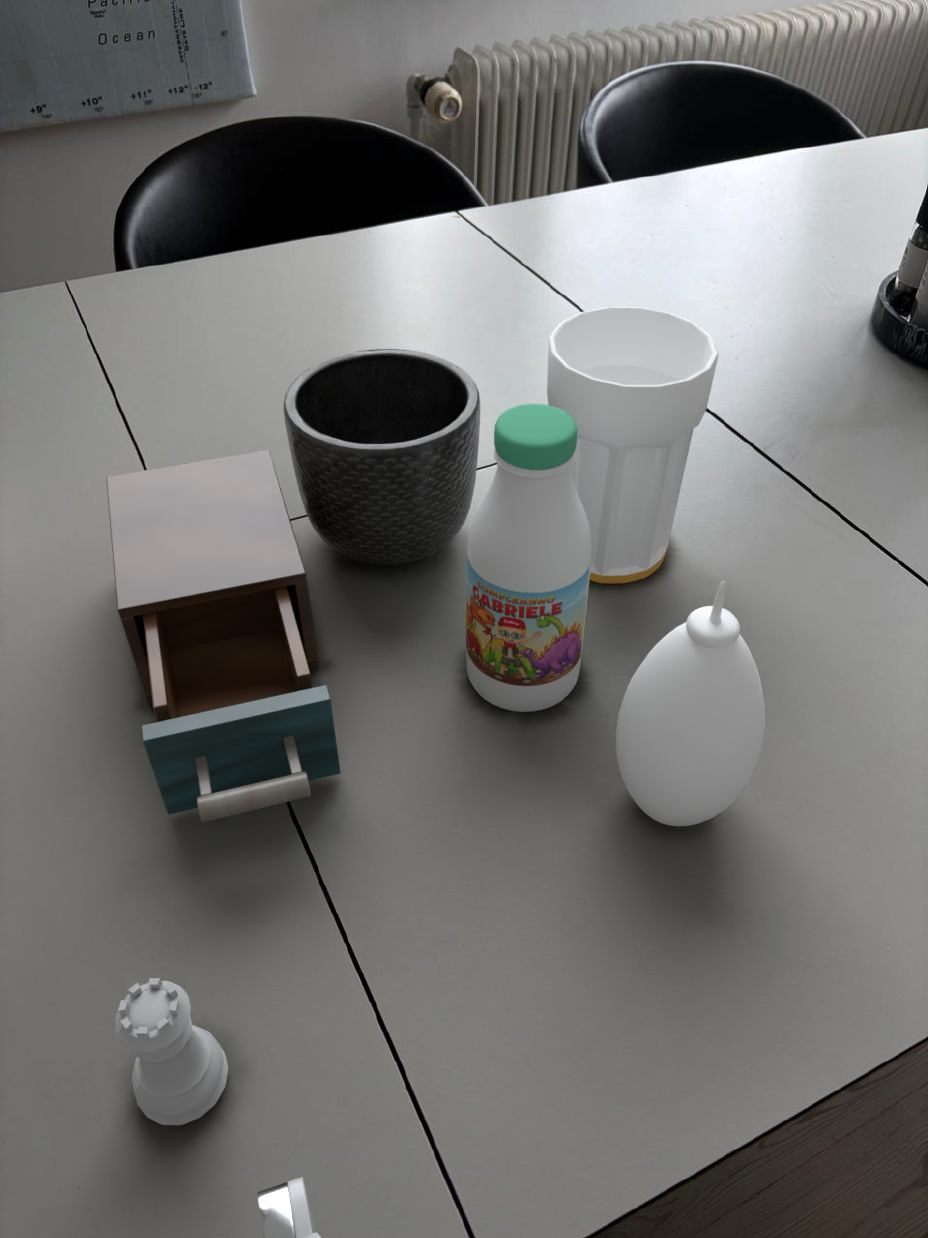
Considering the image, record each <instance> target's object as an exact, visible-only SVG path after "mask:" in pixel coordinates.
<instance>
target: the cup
mask: <svg viewBox="0 0 928 1238" xmlns="http://www.w3.org/2000/svg"><path fill="white" fill-rule="evenodd" d="M547 339H548V341H547V376H546V377H547V379H546V380H547V381H546V396H547V397H546V398H547V405H549V406H553V407H556V408H559V409H561V410H563V411H565V412H566V413H568V414H569V415H570V416H571V417H572V418H573V419H574V421H575V423H576V426H577V443H576V449H575V461H574V463H573V465H572V466H571V467H570V472H571V477H572V481H573V485H574V488H575V490H576V493H577V495H578V497H579V499H580V501H581V504H582V506H583V508H584V510H585V513H586V516H587V519H588V523H589V528H590V534H591V566H590V578H589V581H592V582H595V583H598V584H626V583H631V582H635V581H639V580H643V579H646V578H647V577H649V576H650V575H652V574H653V573H654V572H655V571H657V570H658V569H660V567H661V565H662V564H663V562H664V561H665V558H666V556H667V552H668V547H669V543H670V538H671V535H672V530H673V524H674V519H675V516H676V511H677V508H678V507H677V506H678V502H679V498H680V493H681V487H682V483H683V479H684V475H685V470H686V466H687V461H688V457H689V452H690V447H691V444H692V443H691V442H692V438H693V433H694V430H695V428H696V427H699V425H700V423H701V421H702V419H703V417H704V415H705V413H706V411H707V409H708V404H709V399H710V395H711V391H712V387H713V381H714V377H715V373H716V369H717V368H716V367H717V364H718V360H719V352H718V348H717V345H716V343H715V341H714V338H713V336H711V335H710V334H709V333H708V332H707V331H706V330H704V329H703V328H702V327H701V326H700V325H698V324H697V323H696V322H693V321H691V320H689V319H687V318H684V317H681V316H679V315H676V314H674V313H672V312H669V311H662V310H658V309H652V308H648V307H642V306H605V307H601V308H595V309H590V310H584V311H580V312H579V313H576V314H574V315H572V316H570V317H568V318H566V319H565V320H563V321H561V322H560V323H558V325H557V326H556V327H555V329H554V330H553V331H552V333H551V334H550V335H549V336H548V338H547Z"/></svg>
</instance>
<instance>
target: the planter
mask: <svg viewBox="0 0 928 1238" xmlns="http://www.w3.org/2000/svg"><path fill="white" fill-rule="evenodd" d="M283 416H284V424H285V429H286V436H287V441H288V446H289V452H290V456H291V457H290V458H291V461H292V466H293V471H294V475H295V480H296V485H297V488H298V493H299V496H300V499H301V502H302V505H303V508H304V511H305V513H306V516H307V518H308V520H309V522H310V524H311V526H312V527H313V530H314V531H315V533H317V535H318V536H319V537H320V539H322V541H323V542H324V543H325V544H326V545H328V546H329V547H330V548H331V549H333V550H334V551H336V552H338V553H339V554H341V555H342V556H344V557H347V558H348V559H351V560H352V561H354V562H355V563H357V564H359V565H361V566H364V567H368V568H370V569H376V570H386V571H390V570H401V569H406V568H410V567H413V566H416V565H418V564H420V563H423V562H424V561H426V560H427V559H429V558H430V557H432V555H434V554H435V553H437V552H439V551H440V550H441V549H443V548H445V546H447V545H448V544H449V543H450V542H451V541H452V540H453V539H454V538H456V536H457V535H458V533H459V532H460V531H461V529H462V528H463V526H464V524H465V523H466V520H467V518H468V515H469V512H470V509H471V506H472V501H473V496H474V492H475V486H476V479H477V469H478V458H479V445H480V431H481V430H480V427H481V398H480V392H479V389H478V387H477V384H476V382H475V381H474V379H473V378H472V377H471V376H470V374H468V373H467V372H466V371H465V370H464V369H462V367H459V365H457V364H455V363H453V362H451V361H449V360H448V359H445V358H442V357H440V356H436V355H434V354H430V353H426V352H423V351H422V352H421V351H417V350H409V349H398V348H375V349H364V350H359V351H352V352H347V353H343V354H339V355H336V356H333V357H330V358H328V359H325V360H322V361H321V362H319V363H316V364H314V365H313V366H311V367H309V368H308V369H307V370H306V369H305V371H303V372H302V373H301V374H300V375H299V376H298V377H296V378H295V379H294V380H293V382H292V383H291V384H290V385H289V386H288V389H287V390H286V393H285V394H284V400H283Z"/></svg>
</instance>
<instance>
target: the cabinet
mask: <svg viewBox="0 0 928 1238" xmlns="http://www.w3.org/2000/svg"><path fill="white" fill-rule="evenodd" d="M105 480H106V481H105V482H106V490H107V491H106V493H107V504H108V515H109V525H110V526H109V528H110V537H111V548H112V549H111V551H112V561H113V562H112V563H113V574H114V575H113V576H114V586H115V597H116V609H117V610H116V611H117V613H118V617H119V619H120V622H121V626H122V628H123V632H124V634H125V638H126V641H127V644H128V647H129V651H130V653H131V657H132V659H133V663H134V666H135V668H136V672H137V675H138V678H139V681H140V684H141V687H142V691H143V693H144V696H145V700H146V703H147V705H151V704H152V705H153V702H152V693H151V684H150V675H149V666H148V657H147V648H146V639H145V630H144V621H143V614H148V613H153V612H158V611H163V610H168V609H173V608H178V607H184V606H189V605H194V604H199V603H204V602H209V601H214V600H219V599H224V598H229V597H234V596H239V595H244V594H249V593H255V592H260V591H265V590H270V589H275V588H280V587H285V586H287V590H288V593H289V597H290V601H291V604H292V608H293V612H294V616H295V619H296V623H297V627H298V630H299V634H300V638H301V641H302V645H303V649H304V652H305V656H306V660H307V663H308V667H309V670H314V669H319V668H320V662H319V654H318V648H317V640H316V634H315V627H314V620H313V613H312V607H311V598H310V591H309V584H308V577H307V573H306V569H305V565H304V563H303V559H302V555H301V552H300V549H299V545H298V541H297V538H296V535H295V532H294V529H293V525H292V522H291V518H290V515H289V512H288V509H287V504H286V502H285V498H284V495H283V491H282V488H281V484H280V481H279V479H278V474H277V472H276V467H275V464H274V461H273V457H272V455H271V451H270V449H265V450H258V451H251V452H245V453H242V454H241V453H240V454H234V455H228V456H223V457H215V458H210V459H204V460H198V461H191V462H187V463H179V464H173V465H169V466H163V467H157V468H150V469H144V470H138V471H133V472H126V473H120V474H115V475H109V476H106V478H105Z"/></svg>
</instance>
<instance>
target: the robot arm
mask: <svg viewBox="0 0 928 1238" xmlns="http://www.w3.org/2000/svg"><path fill="white" fill-rule="evenodd" d="M308 1192H309V1191H308V1188H307V1185H306V1181H305V1179H304V1176H301V1177H297V1178H294V1179H290V1180H287V1181H286V1182H283V1183H279V1184H277V1185H274V1186H272V1187H269V1188H266V1189H263V1190H260V1191H257V1202H258V1209H259V1212H260V1215H261V1217H262V1218H263V1221H262V1224H261V1230H262V1236H263V1238H322V1236H321V1235H320V1234H319V1233H318V1232H316V1228H315V1222H314V1217H313V1211H312V1205H311V1201H310V1197H309V1193H308Z"/></svg>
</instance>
